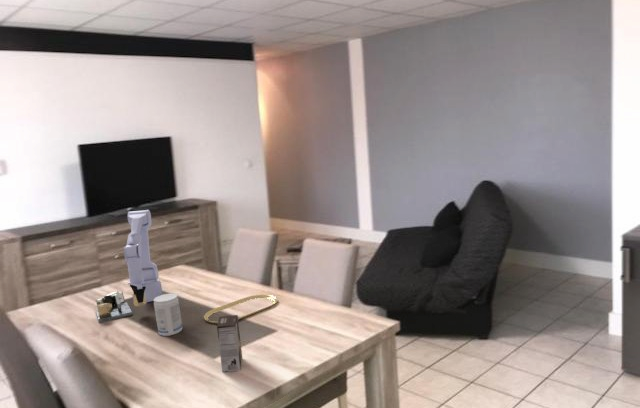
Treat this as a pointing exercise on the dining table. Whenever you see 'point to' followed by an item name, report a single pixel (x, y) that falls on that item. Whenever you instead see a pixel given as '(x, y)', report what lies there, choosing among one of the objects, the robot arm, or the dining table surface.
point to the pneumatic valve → (112, 298)
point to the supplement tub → (168, 314)
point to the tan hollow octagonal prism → (137, 301)
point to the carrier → (112, 311)
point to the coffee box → (229, 343)
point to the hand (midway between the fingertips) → (139, 300)
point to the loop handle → (238, 303)
